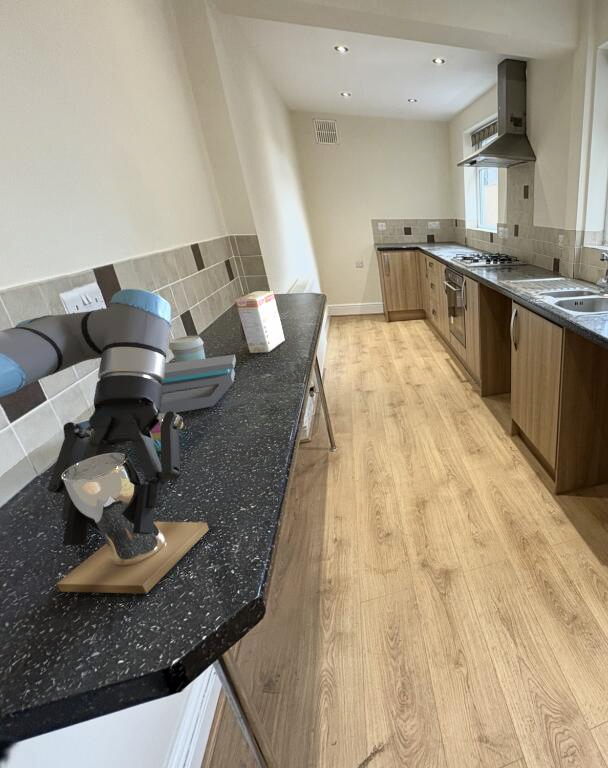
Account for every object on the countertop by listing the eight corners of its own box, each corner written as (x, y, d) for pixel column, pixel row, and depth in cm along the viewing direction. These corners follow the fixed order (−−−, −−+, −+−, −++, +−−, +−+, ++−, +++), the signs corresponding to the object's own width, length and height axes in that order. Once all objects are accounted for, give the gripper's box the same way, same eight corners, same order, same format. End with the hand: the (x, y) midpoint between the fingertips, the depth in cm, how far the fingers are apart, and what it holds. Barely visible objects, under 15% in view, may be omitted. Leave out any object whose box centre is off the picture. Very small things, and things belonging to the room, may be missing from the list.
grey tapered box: (244, 390, 117) (234, 354, 113) (243, 400, 111) (232, 363, 107) (133, 409, 106) (116, 370, 102) (124, 421, 100) (106, 381, 96)
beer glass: (165, 525, 65) (127, 445, 59) (172, 549, 60) (132, 465, 54) (107, 549, 60) (59, 465, 54) (109, 577, 56) (57, 489, 50)
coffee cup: (217, 369, 132) (205, 334, 127) (208, 379, 125) (196, 341, 120) (185, 373, 130) (173, 336, 125) (175, 383, 122) (161, 344, 118)
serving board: (60, 591, 56) (55, 583, 55) (137, 528, 67) (133, 521, 66) (146, 593, 55) (142, 585, 55) (209, 529, 66) (206, 522, 66)
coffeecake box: (266, 340, 161) (254, 291, 153) (285, 340, 162) (274, 290, 154) (248, 353, 148) (234, 299, 140) (269, 352, 148) (256, 298, 141)
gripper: (216, 385, 69) (207, 526, 61) (72, 399, 64) (41, 554, 56) (193, 366, 62) (179, 522, 54) (29, 380, 57) (-13, 554, 49)
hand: (109, 538), depth 55 cm, fingers closed on beer glass, 7 cm apart
